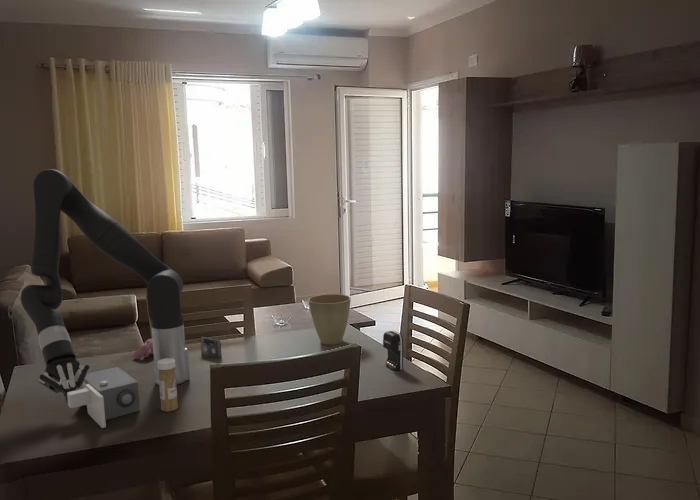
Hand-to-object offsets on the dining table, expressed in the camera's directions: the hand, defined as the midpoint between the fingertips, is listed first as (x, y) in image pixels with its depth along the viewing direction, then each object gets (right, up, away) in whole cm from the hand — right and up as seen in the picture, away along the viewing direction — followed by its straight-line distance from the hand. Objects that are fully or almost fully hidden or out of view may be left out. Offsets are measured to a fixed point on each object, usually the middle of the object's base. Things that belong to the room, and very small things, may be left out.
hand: (73, 403), depth 163 cm
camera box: (+7, -3, +8) cm, 11 cm away
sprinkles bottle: (+23, -3, +6) cm, 24 cm away
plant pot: (+65, +6, +63) cm, 90 cm away
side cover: (+4, -5, -2) cm, 7 cm away
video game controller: (+3, +3, +52) cm, 52 cm away
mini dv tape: (+25, +4, +50) cm, 56 cm away
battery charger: (+85, +3, +34) cm, 91 cm away
